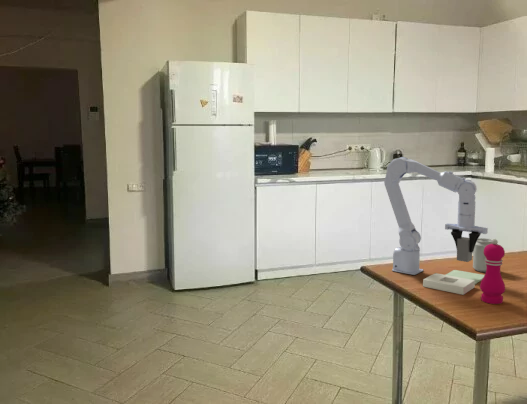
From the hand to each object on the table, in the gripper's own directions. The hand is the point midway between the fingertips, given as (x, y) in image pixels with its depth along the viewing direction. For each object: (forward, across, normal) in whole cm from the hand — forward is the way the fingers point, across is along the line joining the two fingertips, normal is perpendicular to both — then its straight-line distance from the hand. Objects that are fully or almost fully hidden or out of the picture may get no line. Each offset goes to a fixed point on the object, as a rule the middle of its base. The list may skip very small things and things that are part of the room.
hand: (465, 250), depth 179 cm
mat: (+10, 0, 0) cm, 10 cm away
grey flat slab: (+10, 0, -14) cm, 17 cm away
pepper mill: (+10, +16, -19) cm, 27 cm away
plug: (+3, 0, 0) cm, 3 cm away
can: (+10, +2, +14) cm, 17 cm away
